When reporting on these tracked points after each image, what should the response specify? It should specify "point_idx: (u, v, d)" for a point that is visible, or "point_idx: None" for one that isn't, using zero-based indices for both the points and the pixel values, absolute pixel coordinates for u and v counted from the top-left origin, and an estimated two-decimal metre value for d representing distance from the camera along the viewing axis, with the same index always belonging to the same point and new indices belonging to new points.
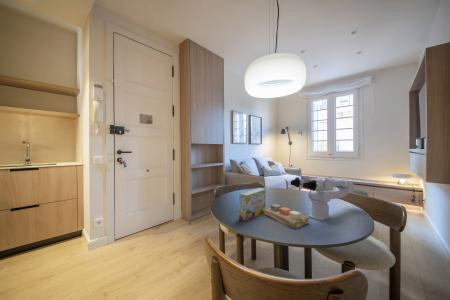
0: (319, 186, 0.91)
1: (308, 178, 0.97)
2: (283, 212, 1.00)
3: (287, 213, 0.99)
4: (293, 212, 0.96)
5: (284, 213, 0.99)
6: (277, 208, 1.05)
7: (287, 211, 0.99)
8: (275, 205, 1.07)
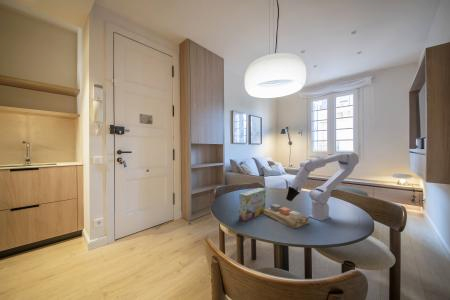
0: (294, 186, 0.95)
1: (290, 184, 1.02)
2: (283, 212, 1.00)
3: (287, 213, 0.99)
4: (293, 212, 0.96)
5: (284, 213, 0.99)
6: (277, 208, 1.05)
7: (287, 211, 0.99)
8: (275, 205, 1.07)
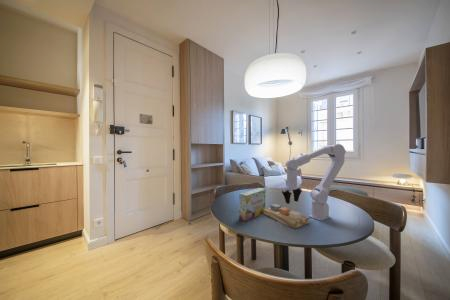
0: (283, 190, 1.01)
1: None
2: (283, 212, 1.00)
3: (287, 213, 0.99)
4: (293, 212, 0.96)
5: (284, 213, 0.99)
6: (277, 208, 1.05)
7: (287, 211, 0.99)
8: (275, 205, 1.07)
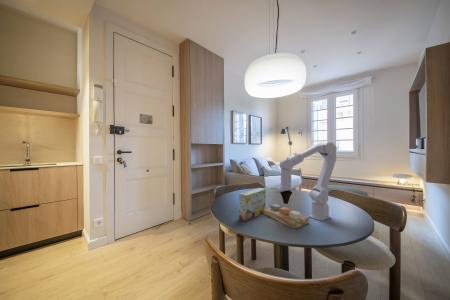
0: (277, 191, 0.98)
1: None
2: (283, 212, 1.00)
3: (287, 213, 0.99)
4: (293, 212, 0.96)
5: (284, 213, 0.99)
6: (277, 208, 1.05)
7: (287, 211, 0.99)
8: (275, 205, 1.07)
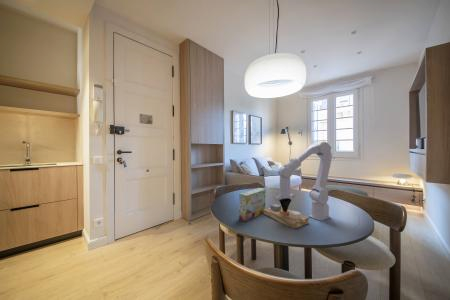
0: (276, 199, 0.98)
1: None
2: (283, 214, 1.00)
3: None
4: (293, 212, 0.96)
5: None
6: (277, 208, 1.05)
7: (287, 213, 0.99)
8: (275, 205, 1.07)
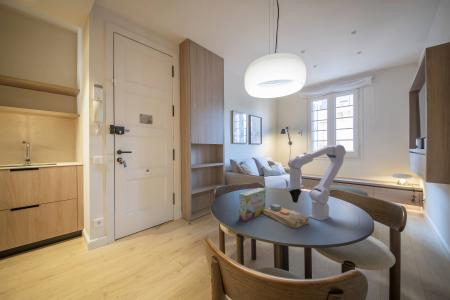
0: (286, 189, 0.97)
1: None
2: (283, 214, 1.00)
3: None
4: (293, 212, 0.96)
5: None
6: (277, 208, 1.05)
7: (287, 213, 0.99)
8: (275, 205, 1.07)
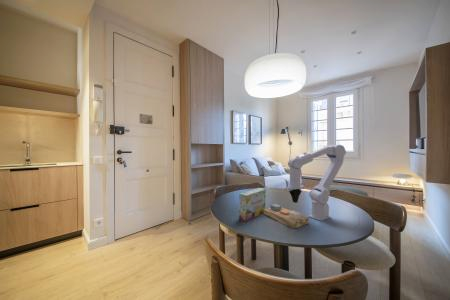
0: (286, 189, 0.97)
1: None
2: (283, 214, 1.00)
3: None
4: (293, 212, 0.96)
5: None
6: (277, 208, 1.05)
7: (287, 213, 0.99)
8: (275, 205, 1.07)
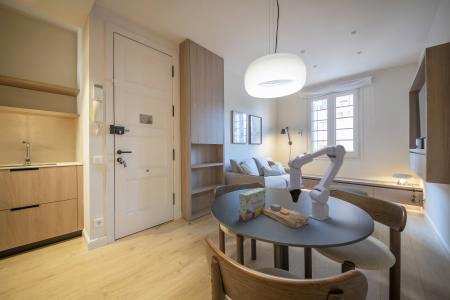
0: (286, 189, 0.97)
1: None
2: (283, 214, 1.00)
3: None
4: (293, 212, 0.96)
5: None
6: (277, 208, 1.05)
7: (287, 213, 0.99)
8: (275, 205, 1.07)
